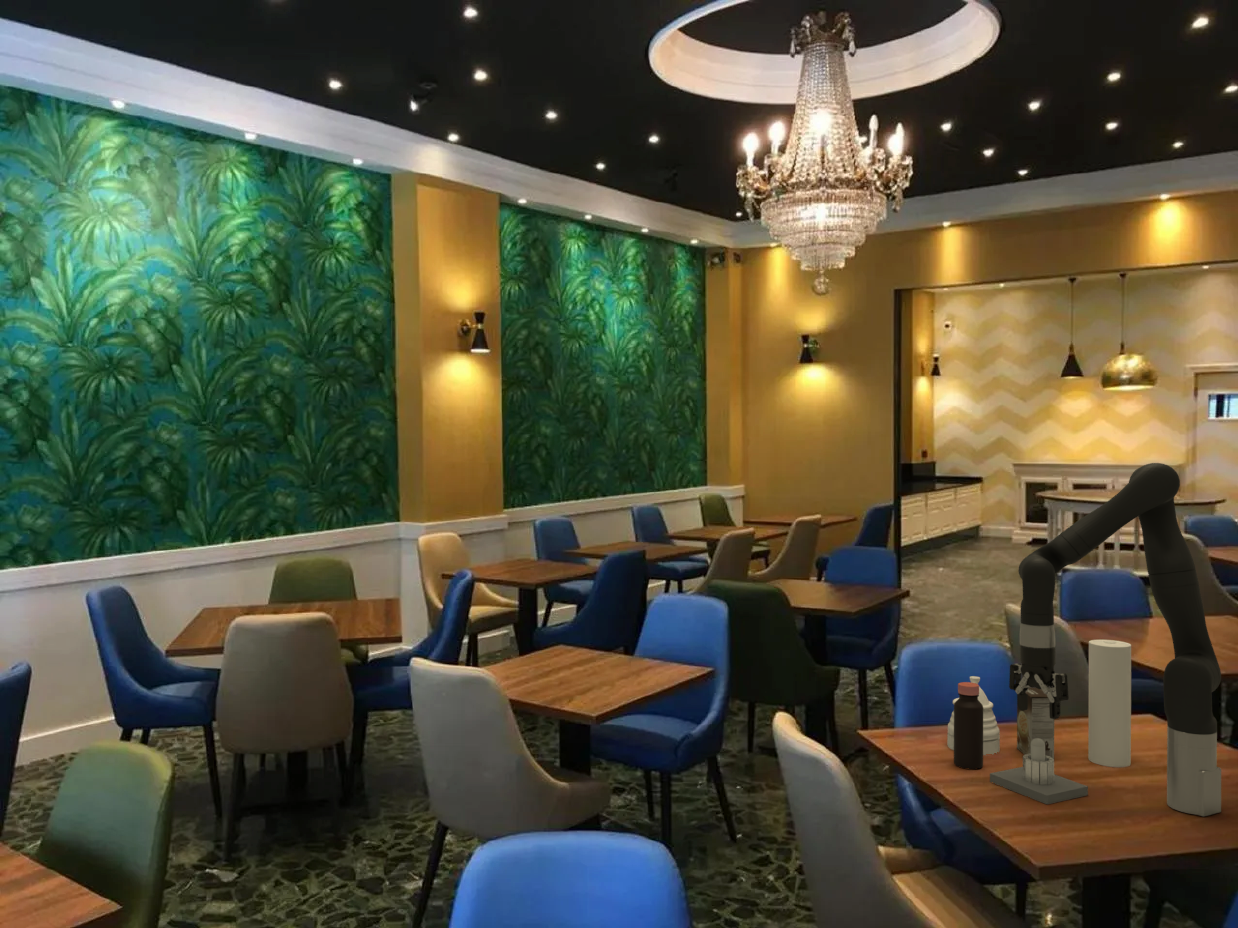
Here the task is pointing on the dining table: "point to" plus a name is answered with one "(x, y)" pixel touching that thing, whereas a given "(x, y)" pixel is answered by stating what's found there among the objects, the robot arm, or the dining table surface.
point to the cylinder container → (1109, 703)
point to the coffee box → (1035, 723)
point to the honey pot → (989, 724)
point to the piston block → (1042, 793)
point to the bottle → (968, 727)
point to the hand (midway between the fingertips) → (1038, 714)
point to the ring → (1038, 770)
